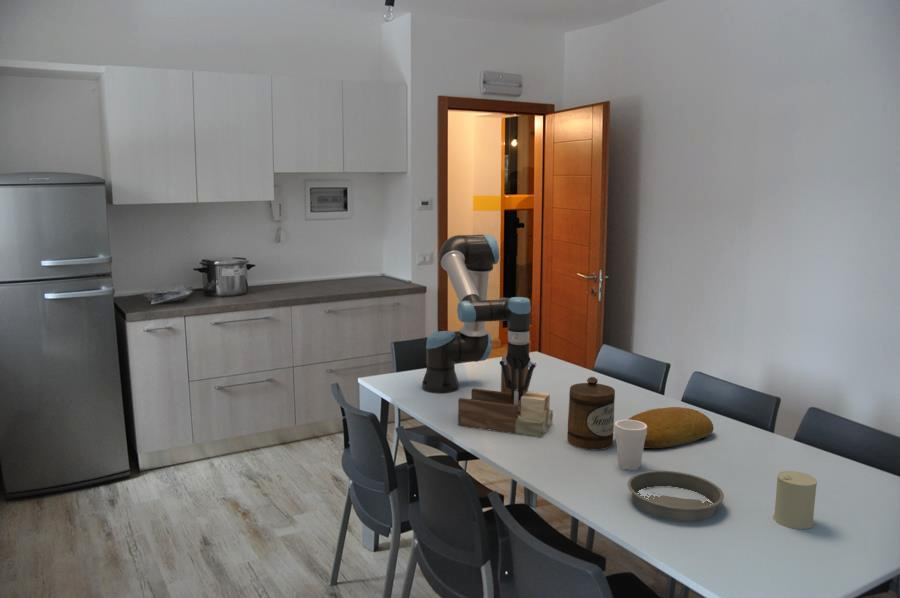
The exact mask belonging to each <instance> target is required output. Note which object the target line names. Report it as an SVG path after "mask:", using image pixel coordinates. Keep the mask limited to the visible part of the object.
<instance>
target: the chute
mask: <svg viewBox="0 0 900 598" xmlns="http://www.w3.org/2000/svg"><path fill="white" fill-rule="evenodd" d="M470 394H471V395H470V396H471V399H470V398H464V397H460V398H458V403H457V404H458V407H457V409H458V411H457V414H458V415H457V416H458V417H457V418H458V419H457V424H458V425H460V426H459V427H465V426H467V428H472V427H475V428H474V429H479V428H482V429H481V430H486V429H491V430H490V431H493V430H497V431H496V432H500V431H504V432H503V433H507V432H511V433H510V434H514V433H518V434H517V435H521V434H526V435H525V436H528V435H532V436H531V437H535V436H539V437H538V438H542V437H543V436H544V434H546V432H547V431H548V430H547V429H549V428H550V427H551V426H552V425H553V414H554V413H553V412H554V411H553V409H549V414H548V415H547V416H546V417H545V419H544V420H538V419H531V418H524V417H520V415H521V400H520V408H519V409H518V405H514V399H512V398H511V393H508V392H501V390H500V391H499V390H492V389H491V390H490V389H482V388H475V387H473V388H471V392H470ZM523 395H524V394H523ZM551 424H552V425H551ZM550 425H551V426H550ZM546 430H547V431H546ZM545 431H546V432H545ZM542 435H543V436H542ZM541 436H542V437H541Z"/></svg>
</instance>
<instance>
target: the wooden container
mask: <svg viewBox="0 0 900 598" xmlns="http://www.w3.org/2000/svg"><path fill="white" fill-rule="evenodd" d="M598 381H599V380H598V378H596V377H594V376H591V377H590V376H589V377H587V379H586V382H581V383H575V384H572V385H571V386H569V395H568V397H569V400H568V414H567V415H568V416H567V435H566V437H567V438H566V440H567V442H568V443H569V444H570V445H571V444H572V446H573V445H574V447H576V448H579V447H580V449H583V448H584V450H592V449H596V450H604V448H605V449H608V448H610V447H611V446H612V445H613V442H614V432H615V400H616V398H615V397H616V395H615V394H616V389H614V388H613V387H612V386H609V385H606V384H601V383H599V382H598Z"/></svg>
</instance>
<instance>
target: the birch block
mask: <svg viewBox="0 0 900 598" xmlns="http://www.w3.org/2000/svg"><path fill="white" fill-rule="evenodd" d="M550 396H551V394H550V393H545V392H537V391H529V390H528V391H527V392H526V393H525V394H524V395H523V396H522V397H521V415H520V417H524V418H531V419H538V420H544V419H545V417H546V416H547V415H548V414H549V410H550V404H551V403H550V400H551V399H550Z"/></svg>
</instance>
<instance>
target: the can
mask: <svg viewBox="0 0 900 598" xmlns="http://www.w3.org/2000/svg"><path fill="white" fill-rule="evenodd" d="M776 476H777V478H776V492H775V503H774V504H775V505H774V513H773V517H772V518H773V520H774V521H775V522H776V521H777V522H776V523H778V524H779V523H780V525H781V524H782V526H783V525H784V527H786V526H787V528H789V527H791V528H790V529H794V528H797V529H796V530H808V529H807V528H809V529H812V526H813V527H814V525H815V523H814V515H815V513H814V512H815V505H816V504H815V503H816V494H817V493H816V492H817V485H818V480H817V478H816V477H814V476H812V475H810V474H808V473H806V472H802V471H801V472H800V471H794V470H784V471H779V472H778V473H777V474H776Z"/></svg>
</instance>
